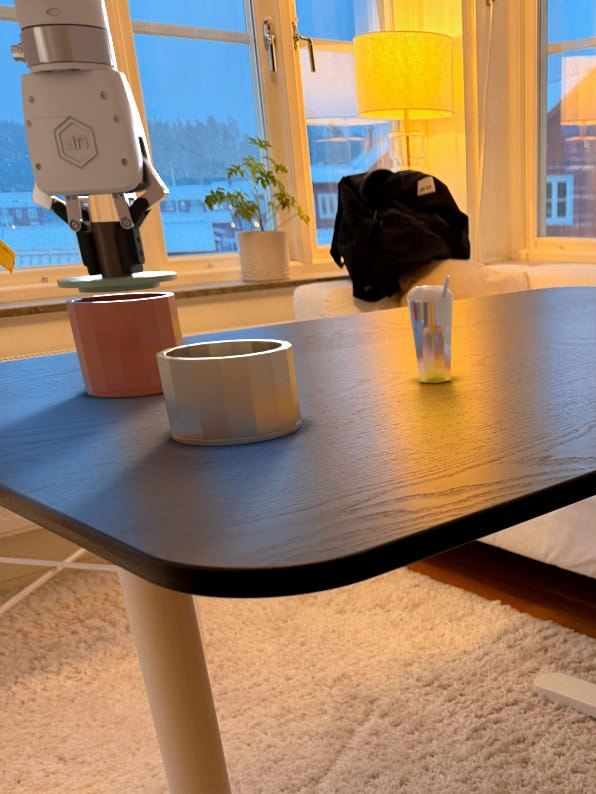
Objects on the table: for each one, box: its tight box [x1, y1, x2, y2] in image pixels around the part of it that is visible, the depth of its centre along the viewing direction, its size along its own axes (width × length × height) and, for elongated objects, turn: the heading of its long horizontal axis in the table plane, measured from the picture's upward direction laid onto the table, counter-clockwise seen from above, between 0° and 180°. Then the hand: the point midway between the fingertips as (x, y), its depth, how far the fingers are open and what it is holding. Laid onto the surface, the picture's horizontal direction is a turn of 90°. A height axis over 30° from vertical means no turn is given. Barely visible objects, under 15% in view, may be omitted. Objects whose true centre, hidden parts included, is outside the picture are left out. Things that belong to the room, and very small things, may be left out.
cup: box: [65, 291, 185, 398], centre depth 92 cm, size 10×10×9 cm
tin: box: [156, 339, 302, 447], centre depth 72 cm, size 10×10×6 cm
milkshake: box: [406, 275, 454, 384], centre depth 88 cm, size 4×5×10 cm
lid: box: [56, 220, 178, 294], centre depth 88 cm, size 11×11×6 cm
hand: (116, 271), depth 89 cm, fingers closed on lid, 3 cm apart
